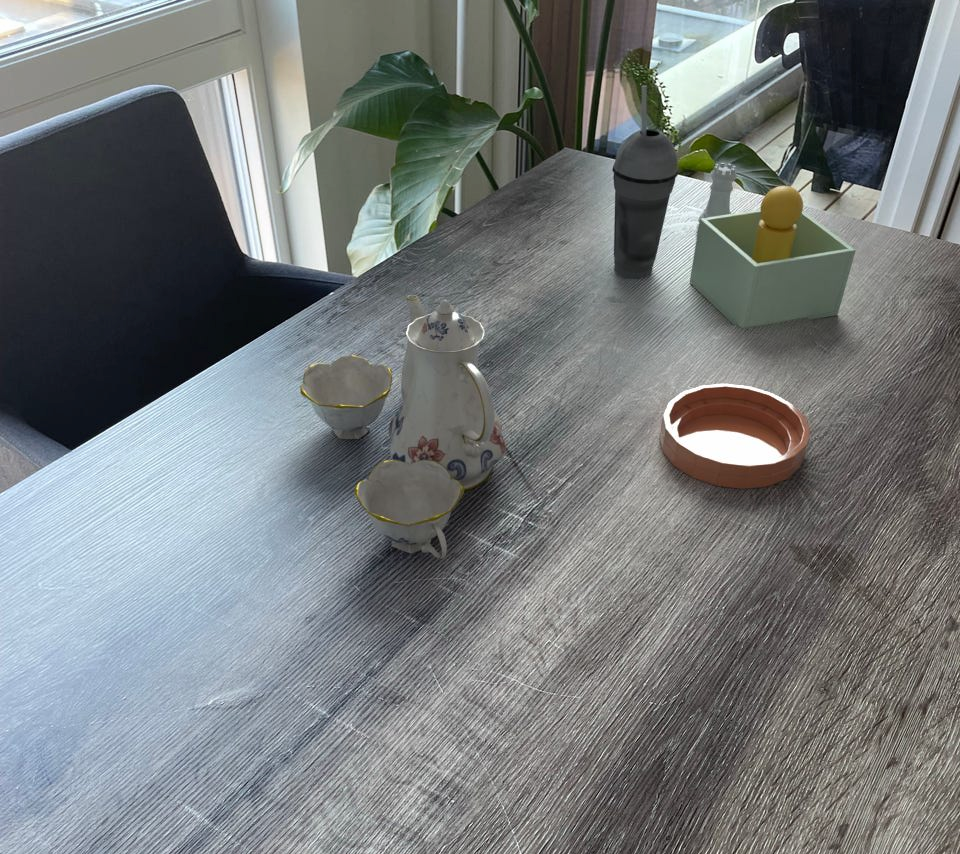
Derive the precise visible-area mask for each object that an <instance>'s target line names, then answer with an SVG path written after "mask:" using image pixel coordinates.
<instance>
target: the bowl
mask: <svg viewBox="0 0 960 854" xmlns="http://www.w3.org/2000/svg"><path fill="white" fill-rule="evenodd" d="M810 434H811V429H810V426H809V424H808V422H807V419H806V416H805V415H804V414H803V413H802V412H801V411H800V410H799V409H798V408H797V407H796V406H795V405H793V403H792V402H789V401H788V400H786V399H784V398H782V397H781V396H779V395H777V394H775V393H773V392H770V391H766V390H764V389H760V388H757V387H753V386H749V385H742V384H733V383H714V384H702V385H699V386H695V387H693V388H689V389H686V390H683V391H681V392H679V394H677V395H676V396H674V397H673V398H672V399H670V400H669V401H668V403H667V405H666V406H665V409H664V412H663V414H662V418H661V425H660V431H659V442H660V447H661V452H662V453H663V454H664V456H665V457H666V458H667V460H669V462H670V463H671V464H672V465H673V466H674V467H675V468H677V469H678V470H680V471H682V472H683V473H685V474H686V475H688V476H689V477H690V478H692V479H694V480H695V479H696V480H698V481H701V482H704V483H707V484H710V485H713V486H715V487H722V488H731V489H738V490H739V489H740V490H746V489H756V488H768V487H770V486H773V485H776V484H778V483H781V482H783V481H787V480H788V479H789V478H790V477H791V476H793V475H794V474H795V473H796V472H797V471H798V470H799V469H800V468H801V467H802V463H803V460H804V456H805V454H806V453H805V452H806V449H807V446H808V442H809V438H810V436H811V435H810Z"/></svg>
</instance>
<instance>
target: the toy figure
mask: <svg viewBox="0 0 960 854" xmlns="http://www.w3.org/2000/svg"><path fill="white" fill-rule="evenodd" d="M759 210H760V213H761V218H762V220H761V221H760V222H759V226H758V231H757V236H756V241H755V245H754V250H753V255H752V259H753V260H754V261H755V262H756V263H757V264H758V263H764V262H770V261H776V260H782V259H789V258H790V254H791V250H792V245H793V241H794V237H795V232H796V228H797V226H796V224H795V223H796V222H797V221H798V220H799V218H800V216H801V214H802V211H804V201H803V197H802V195H801V194H800V192H799V191H798V190H797V189H796V188H794V187H792V186H789V185H778V186H776V187H773V188H771V189H770V190H769V191H768V192H767V193H766V194H765V195H764V197H763V198H762V201H761V203H760V208H759Z"/></svg>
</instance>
